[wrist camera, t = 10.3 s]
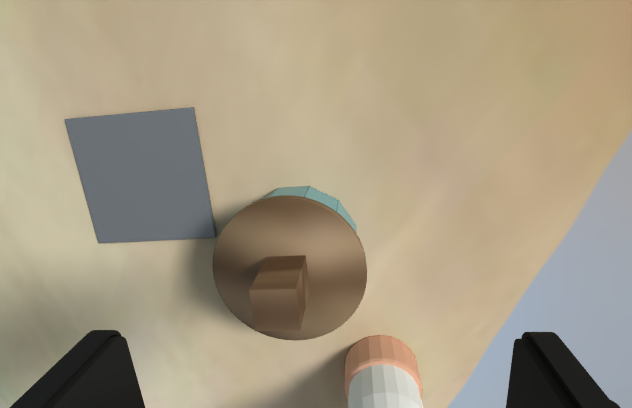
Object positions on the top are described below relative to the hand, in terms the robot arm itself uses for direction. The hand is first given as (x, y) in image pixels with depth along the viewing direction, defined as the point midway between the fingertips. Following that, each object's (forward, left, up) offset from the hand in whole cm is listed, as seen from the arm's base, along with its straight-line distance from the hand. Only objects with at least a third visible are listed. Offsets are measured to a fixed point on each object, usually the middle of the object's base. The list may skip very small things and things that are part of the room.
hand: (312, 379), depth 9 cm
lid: (+6, -4, -19) cm, 20 cm away
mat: (-1, -18, -24) cm, 30 cm away
